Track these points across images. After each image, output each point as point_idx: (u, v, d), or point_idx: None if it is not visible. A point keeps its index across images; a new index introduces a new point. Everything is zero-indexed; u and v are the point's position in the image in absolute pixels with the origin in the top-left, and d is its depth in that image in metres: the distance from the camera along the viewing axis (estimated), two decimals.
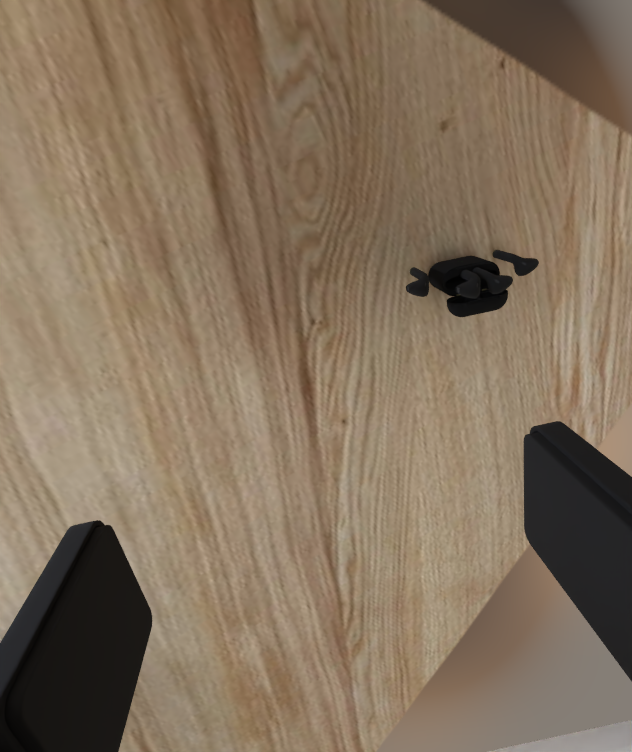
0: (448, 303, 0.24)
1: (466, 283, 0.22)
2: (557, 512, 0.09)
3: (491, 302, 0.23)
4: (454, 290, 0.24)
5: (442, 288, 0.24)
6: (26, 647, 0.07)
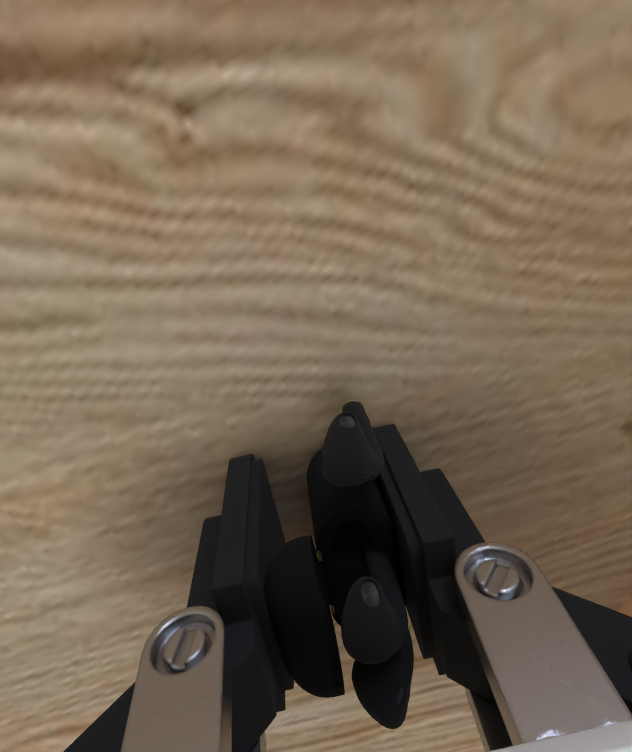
0: (307, 551, 0.07)
1: (392, 613, 0.07)
2: None
3: (321, 674, 0.08)
4: (332, 543, 0.08)
5: (337, 511, 0.08)
6: (242, 539, 0.08)
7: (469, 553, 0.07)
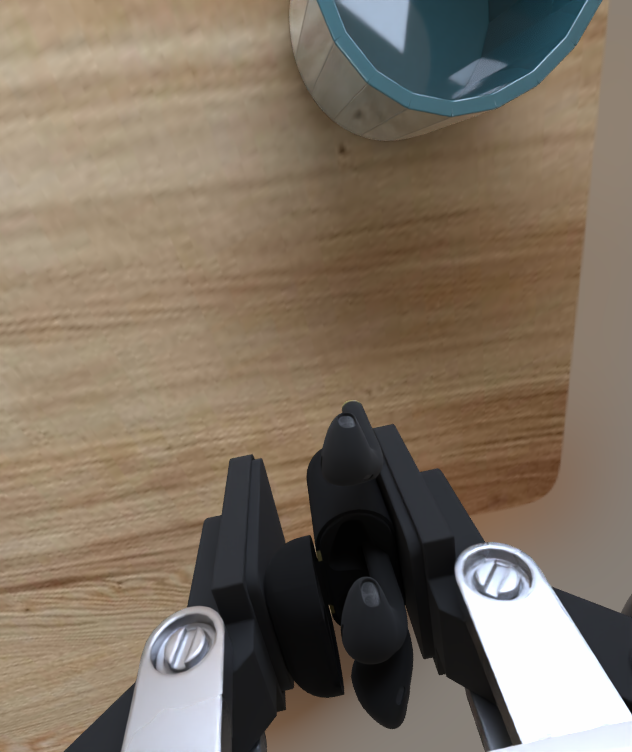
0: (306, 551, 0.07)
1: (391, 612, 0.07)
2: None
3: (320, 674, 0.08)
4: (331, 543, 0.08)
5: (337, 511, 0.08)
6: (242, 539, 0.08)
7: (469, 553, 0.07)
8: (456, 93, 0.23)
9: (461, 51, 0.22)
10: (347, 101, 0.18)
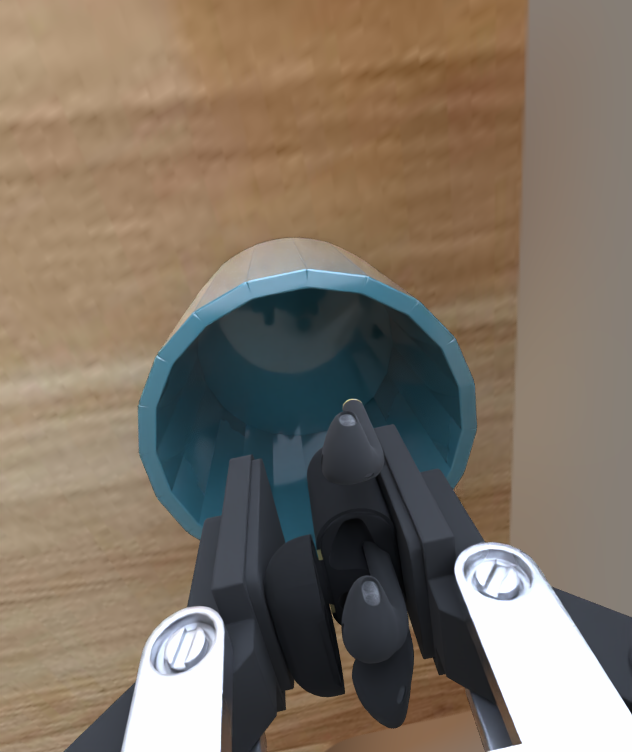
0: (307, 550, 0.07)
1: (392, 612, 0.07)
2: None
3: (321, 673, 0.08)
4: (332, 542, 0.08)
5: (338, 510, 0.08)
6: (242, 539, 0.08)
7: (469, 553, 0.07)
8: (365, 401, 0.23)
9: (366, 368, 0.22)
10: None
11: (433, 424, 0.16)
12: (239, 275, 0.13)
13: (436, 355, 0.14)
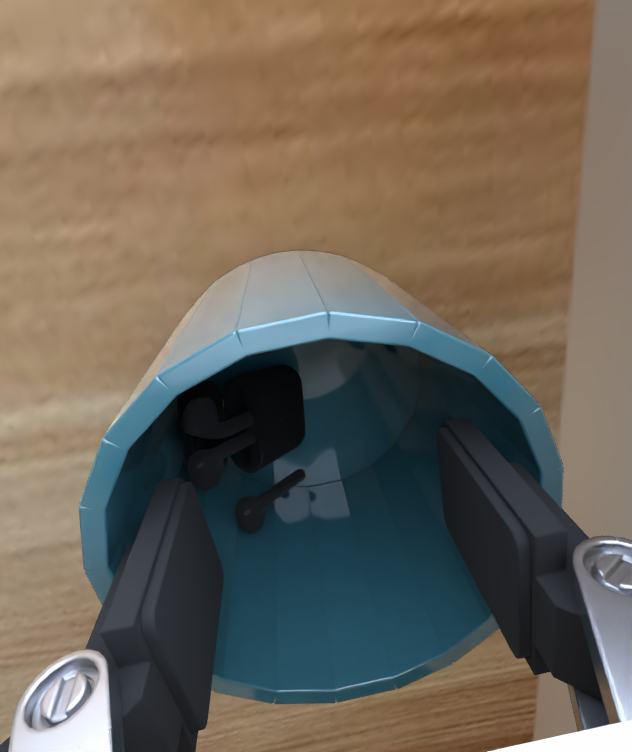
0: (200, 382, 0.14)
1: (206, 415, 0.13)
2: (459, 499, 0.10)
3: (187, 449, 0.14)
4: (229, 397, 0.14)
5: None
6: (146, 575, 0.08)
7: (584, 548, 0.07)
8: (386, 446, 0.19)
9: (389, 408, 0.18)
10: None
11: None
12: (227, 313, 0.09)
13: (503, 421, 0.10)
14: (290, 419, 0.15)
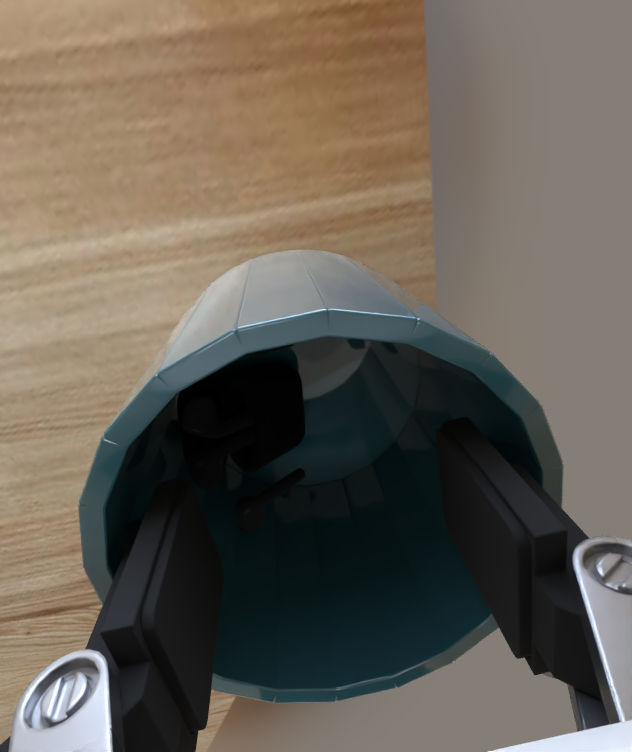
0: (200, 381, 0.14)
1: (206, 413, 0.13)
2: (459, 499, 0.10)
3: (186, 448, 0.14)
4: (229, 396, 0.14)
5: (234, 377, 0.14)
6: (147, 575, 0.08)
7: (584, 548, 0.07)
8: (386, 445, 0.19)
9: (389, 407, 0.18)
10: None
11: None
12: (227, 311, 0.09)
13: (503, 419, 0.10)
14: (290, 418, 0.15)
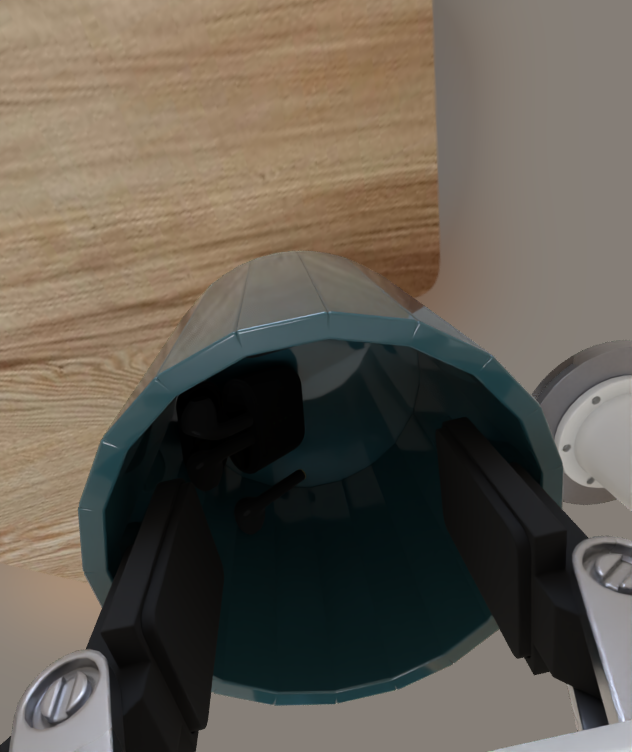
0: None
1: (205, 415, 0.13)
2: (459, 499, 0.10)
3: (186, 450, 0.14)
4: (228, 398, 0.14)
5: (233, 379, 0.14)
6: (147, 575, 0.08)
7: (584, 547, 0.07)
8: (385, 447, 0.19)
9: (388, 408, 0.18)
10: None
11: None
12: (227, 313, 0.09)
13: (503, 421, 0.10)
14: (289, 420, 0.15)
